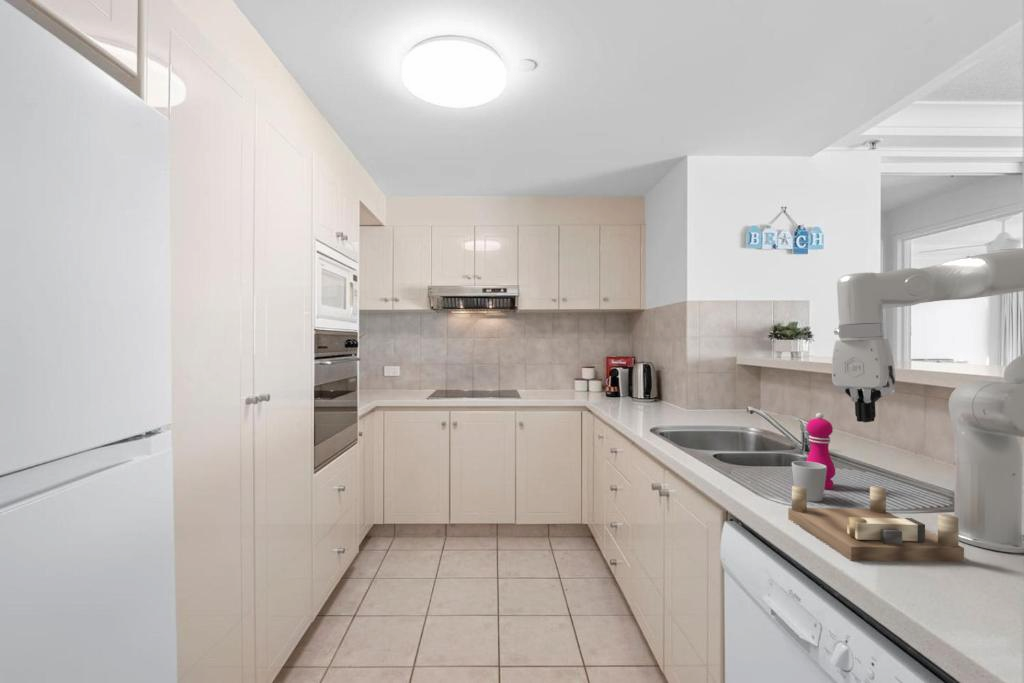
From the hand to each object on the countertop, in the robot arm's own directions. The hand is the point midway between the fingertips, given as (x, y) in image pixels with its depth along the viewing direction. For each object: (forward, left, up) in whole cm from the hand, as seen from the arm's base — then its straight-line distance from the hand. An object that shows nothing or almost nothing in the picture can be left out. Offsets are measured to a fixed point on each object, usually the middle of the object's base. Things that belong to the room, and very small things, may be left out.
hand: (865, 421), depth 98 cm
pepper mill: (-25, -22, -23) cm, 40 cm away
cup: (-13, -18, -23) cm, 32 cm away
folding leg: (+8, +6, -20) cm, 23 cm away
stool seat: (+3, +2, -23) cm, 23 cm away
